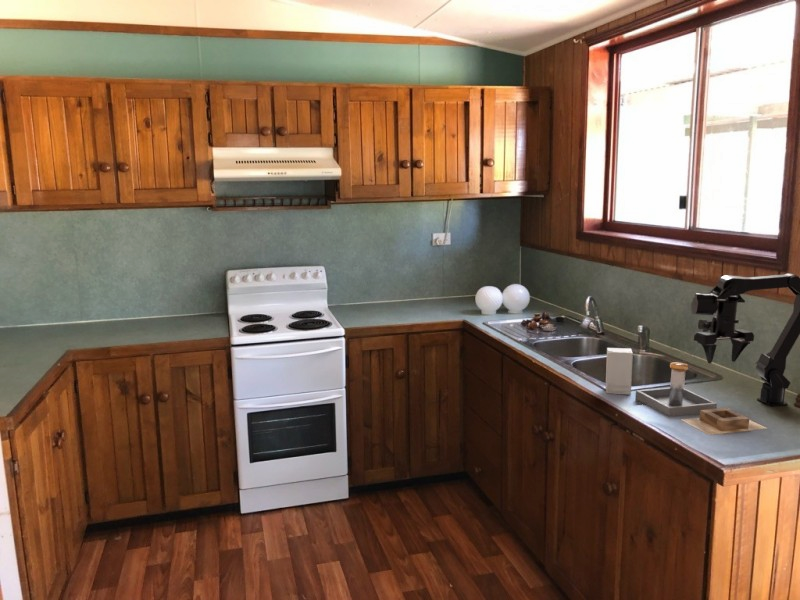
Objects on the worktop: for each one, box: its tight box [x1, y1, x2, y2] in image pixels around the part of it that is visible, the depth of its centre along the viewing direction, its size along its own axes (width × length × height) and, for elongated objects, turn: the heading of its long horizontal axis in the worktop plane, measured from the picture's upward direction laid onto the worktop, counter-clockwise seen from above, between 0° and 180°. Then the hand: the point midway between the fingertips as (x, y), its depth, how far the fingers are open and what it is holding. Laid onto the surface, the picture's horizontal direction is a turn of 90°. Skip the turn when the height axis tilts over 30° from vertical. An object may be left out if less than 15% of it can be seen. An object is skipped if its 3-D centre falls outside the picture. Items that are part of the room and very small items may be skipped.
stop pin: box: [669, 361, 689, 406], centre depth 212 cm, size 5×5×13 cm
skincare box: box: [605, 347, 634, 395], centre depth 227 cm, size 8×6×15 cm
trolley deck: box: [681, 407, 768, 436], centre depth 197 cm, size 20×12×4 cm, turn 105°
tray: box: [634, 386, 718, 417], centre depth 213 cm, size 17×17×4 cm
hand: (721, 362), depth 218 cm, fingers open, 9 cm apart
